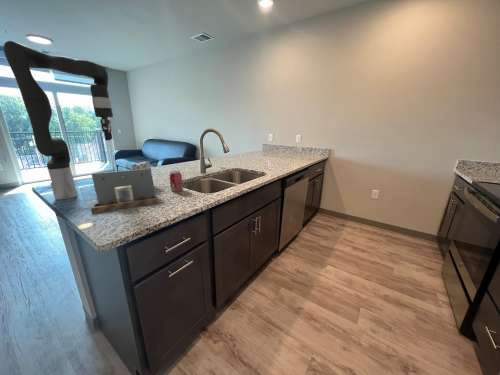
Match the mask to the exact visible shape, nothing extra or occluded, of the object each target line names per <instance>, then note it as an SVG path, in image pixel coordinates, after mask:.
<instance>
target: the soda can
mask: <svg viewBox="0 0 500 375" xmlns="http://www.w3.org/2000/svg"><path fill="white" fill-rule="evenodd" d="M169 182H170V190H171V191H172V192H175V193H176V192H177V193H178V192H181V191H182V190H183V189H184V188H183V178H182V173H181V171H180V170H173V171H170V173H169Z"/></svg>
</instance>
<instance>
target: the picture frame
mask: <svg viewBox="0 0 500 375" xmlns="http://www.w3.org/2000/svg"><path fill="white" fill-rule="evenodd" d="M115 193H116V198H117V203H122V202H129V201H131V202H132V201H134V198H133V193H132V187H131V185H130V186H122V187H115Z"/></svg>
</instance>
